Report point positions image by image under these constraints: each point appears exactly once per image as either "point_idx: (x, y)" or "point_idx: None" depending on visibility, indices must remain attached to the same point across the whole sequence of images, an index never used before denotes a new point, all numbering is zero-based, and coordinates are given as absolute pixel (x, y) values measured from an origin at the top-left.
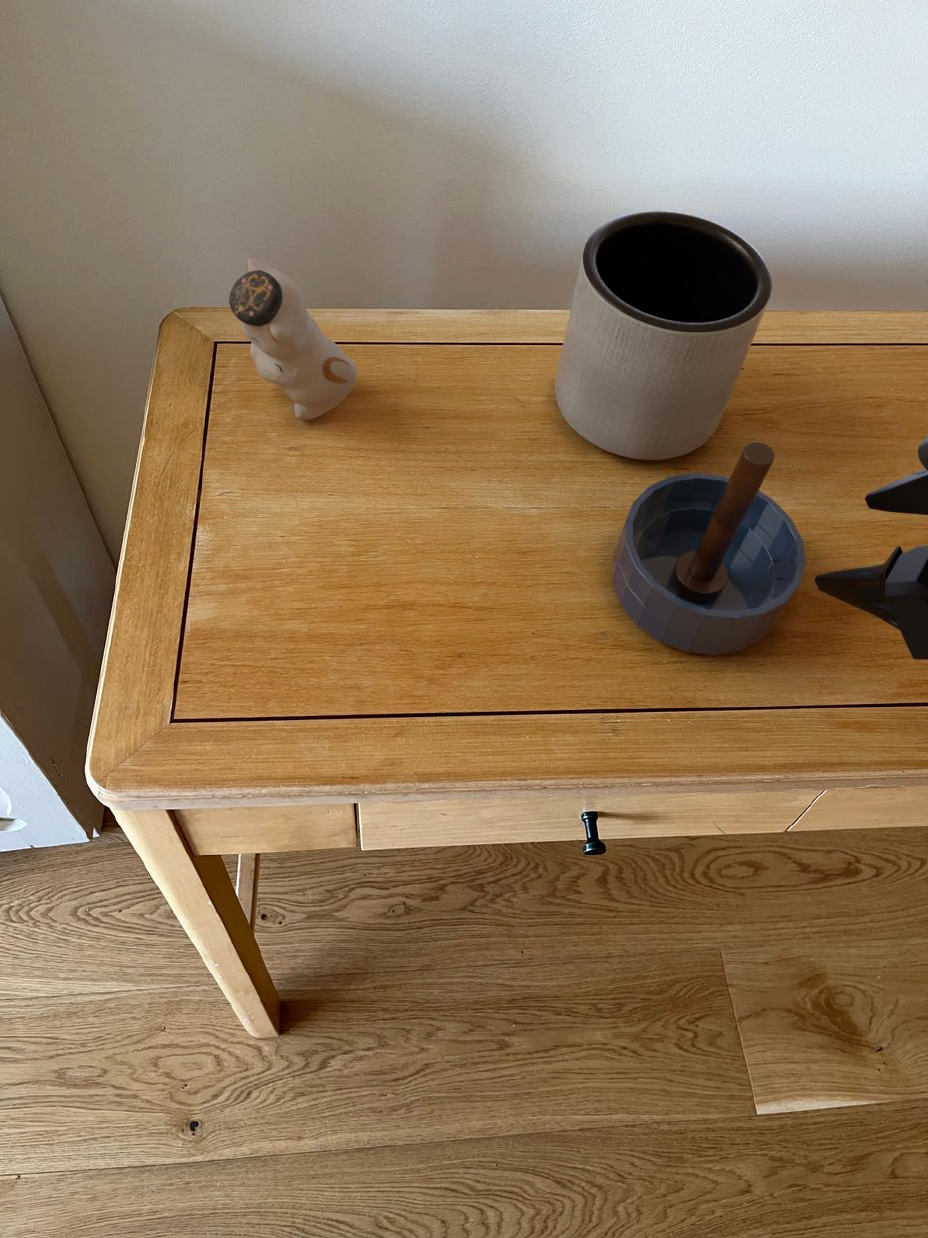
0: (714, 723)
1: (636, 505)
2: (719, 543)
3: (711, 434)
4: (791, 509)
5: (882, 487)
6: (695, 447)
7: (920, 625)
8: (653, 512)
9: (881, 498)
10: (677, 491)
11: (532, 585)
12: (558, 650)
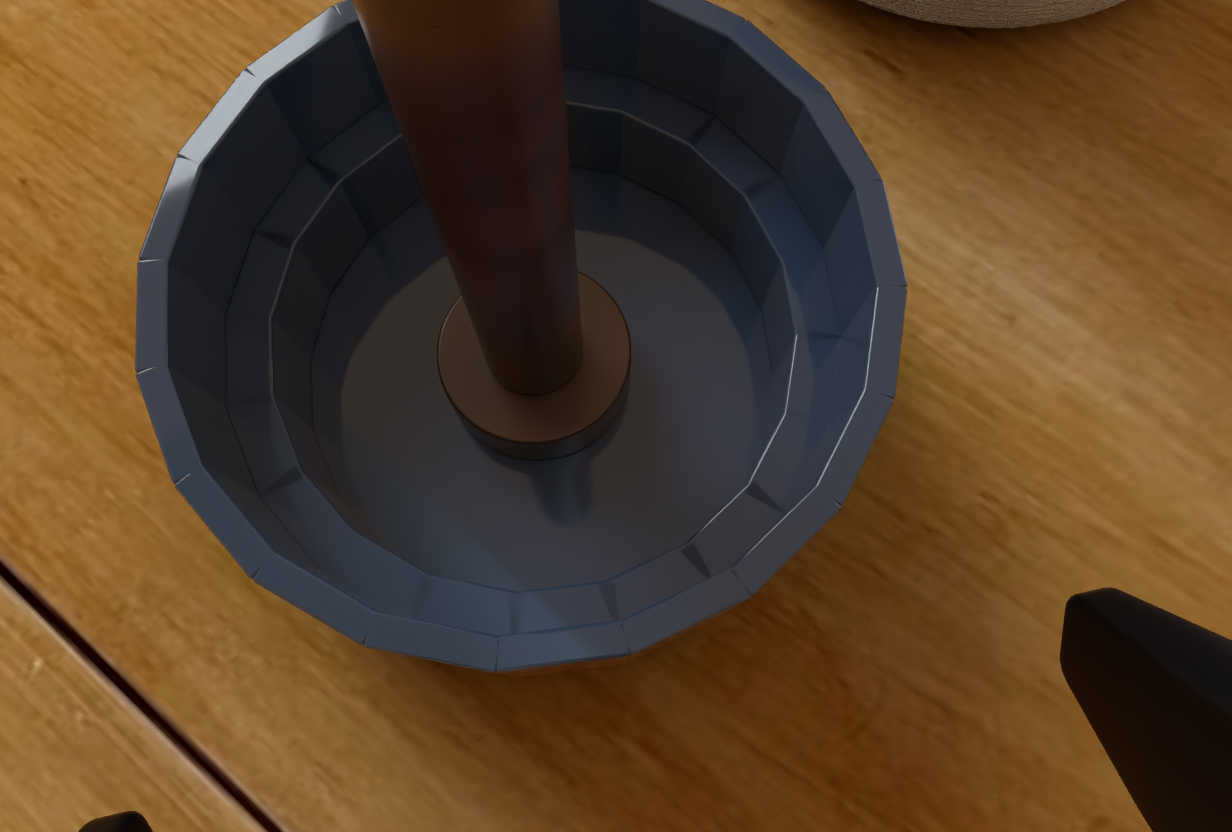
0: (133, 782)
1: None
2: (456, 278)
3: (1049, 10)
4: (1080, 388)
5: (1222, 643)
6: (963, 17)
7: None
8: (565, 80)
9: (1145, 700)
10: (664, 54)
11: (164, 73)
12: (23, 267)
